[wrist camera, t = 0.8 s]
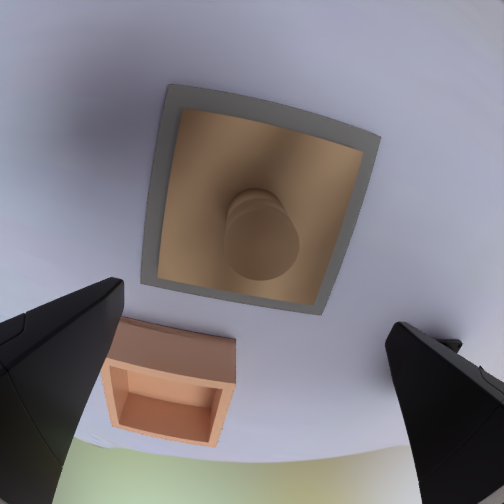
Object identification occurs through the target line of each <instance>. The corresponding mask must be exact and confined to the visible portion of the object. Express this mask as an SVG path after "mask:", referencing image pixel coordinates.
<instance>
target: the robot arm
mask: <svg viewBox="0 0 504 504" xmlns="http://www.w3.org/2000/svg"><path fill="white" fill-rule="evenodd" d="M123 309H124V281H123V280H122V279H119V278H114V277H110V278H107V279H105V280H102V281H100V282H97V283H95V284H92V285H90V286H87V287H85V288H82V289H80V290H77V291H75V292H73V293H70V294H68V295H65V296H63V297H60V298H58V299H56V300H53V301H51V302H48V303H46V304H44V305H41V306H39V307H37V308H34V309H32V310H30V311H27V312H26V314H25V313H22V314H20V315H18V316H16V317H13V318H11V319H8V320H6V321H4V322H1V323H0V504H52V501H53V498H54V494H55V491H56V488H57V484H58V481H59V477H60V474H61V472H62V469H63V468H62V466H63V465H64V462H65V459H66V456H67V453H68V450H69V448H70V445H71V442H72V439H73V437H74V434H75V431H76V429H77V426H78V423H79V421H80V418H81V416H82V413H83V411H84V408H85V406H86V403H87V401H88V398H89V396H90V394H91V391H92V389H93V386H94V384H95V382H96V380H97V377H98V375H99V373H100V370H101V368H102V366H103V364H104V362H105V359H106V357H107V355H108V353H109V350H110V348H111V345H112V342H113V339H114V336H115V333H116V330H117V327H118V324H119V321H120V318H121V315H122V312H123ZM462 344H463V343H462V342H461V341H460V340H435V339H433V338H431V337H430V336H428V335H426V334H425V333H423V332H422V331H420V330H418V329H417V328H415V327H413V326H412V325H410V324H409V323H407V322H396V323H395V324H394V326H393V328H392V330H391V331H390V333H389V335H388V337H387V339H386V342H385V348H386V352H387V357H388V361H389V366H390V371H391V376H392V380H393V384H394V387H395V391H396V394H397V397H398V401H399V404H400V408H401V411H402V415H403V419H404V422H405V426H406V430H407V434H408V438H409V442H410V446H411V450H412V454H413V458H414V463H415V468H416V472H417V477H418V481H419V488H420V494H421V498H422V504H504V382H502V381H500V380H499V379H497V378H495V377H494V376H492V375H490V374H489V373H487V372H486V371H484V369H483V368H482V367H481V366H479V367H477V366H476V365H474V364H473V363H471V362H470V361H468V360H467V359H465V358H463V357H462V356H460V355H459V354H457V353H458V351H459V350H460V348H461V346H462Z"/></svg>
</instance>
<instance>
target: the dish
mask: <svg viewBox="0 0 504 504" xmlns="http://www.w3.org/2000/svg"><path fill="white" fill-rule="evenodd" d="M101 376H102V382H103V387H104V393H105V398H106V402H107V407H108V412H109V416H110V420H111V424H112V426H113V427H116V428H120V429H124V430H127V431H131V432H135V433H139V434H143V435H147V436H152V437H156V438H161V439H166V440H171V441H177V442H182V443H188V444H195V445H201V446H209V447H216V446H217V443H218V440H219V437H220V434H221V430H222V427H223V424H224V421H225V418H226V415H227V411H228V408H229V405H230V402H231V399H232V395H233V392H234V389H235V386H236V339H230V338H224V337H218V336H212V335H207V334H201V333H196V332H190V331H185V330H180V329H175V328H170V327H165V326H161V325H156V324H152V323H147V322H143V321H138V320H134V319H130V318H126V317H122V316H121V318H120V321H119V324H118V327H117V330H116V333H115V336H114V339H113V342H112V345H111V348H110V350H109V353H108V355H107V357H106V359H105V362H104V364H103V366H102V368H101Z"/></svg>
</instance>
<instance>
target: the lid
mask: <svg viewBox="0 0 504 504" xmlns="http://www.w3.org/2000/svg"><path fill="white" fill-rule="evenodd" d="M363 153H364V152H361V151H359V150H356V149H353V148H350V147H347V146H344V145H341V144H337V143H334V142H331V141H328V140H325V139H321V138H318V137H314V136H311V135H308V134H304V133H300V132H297V131H293V130H289V129H285V128H281V127H277V126H273V125H269V124H265V123H261V122H256V121H252V120H247V119H242V118H238V117H233V116H227V115H222V114H217V113H211V112H205V111H199V110H193V109H186V108H183V112H182V116H181V121H180V126H179V131H178V136H177V141H176V146H175V151H174V157H173V162H172V168H171V174H170V180H169V186H168V193H167V199H166V206H165V213H164V221H163V229H162V237H161V246H160V255H159V265H158V276H157V278H161V279H166V280H171V281H176V282H181V283H186V284H191V285H196V286H201V287H206V288H212V289H217V290H223V291H228V292H234V293H239V294H245V295H251V296H257V297H262V298H268V299H275V300H281V301H287V302H293V303H300V304H306V305H314V303H315V300H316V298H317V295H318V292H319V290H320V287H321V284H322V281H323V279H324V276H325V273H326V270H327V268H328V265H329V262H330V259H331V256H332V253H333V251H334V248H335V245H336V242H337V239H338V236H339V233H340V230H341V227H342V224H343V220H344V217H345V214H346V211H347V208H348V205H349V201H350V198H351V195H352V191H353V188H354V185H355V181H356V178H357V174H358V171H359V167H360V164H361V160H362V156H363Z"/></svg>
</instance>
